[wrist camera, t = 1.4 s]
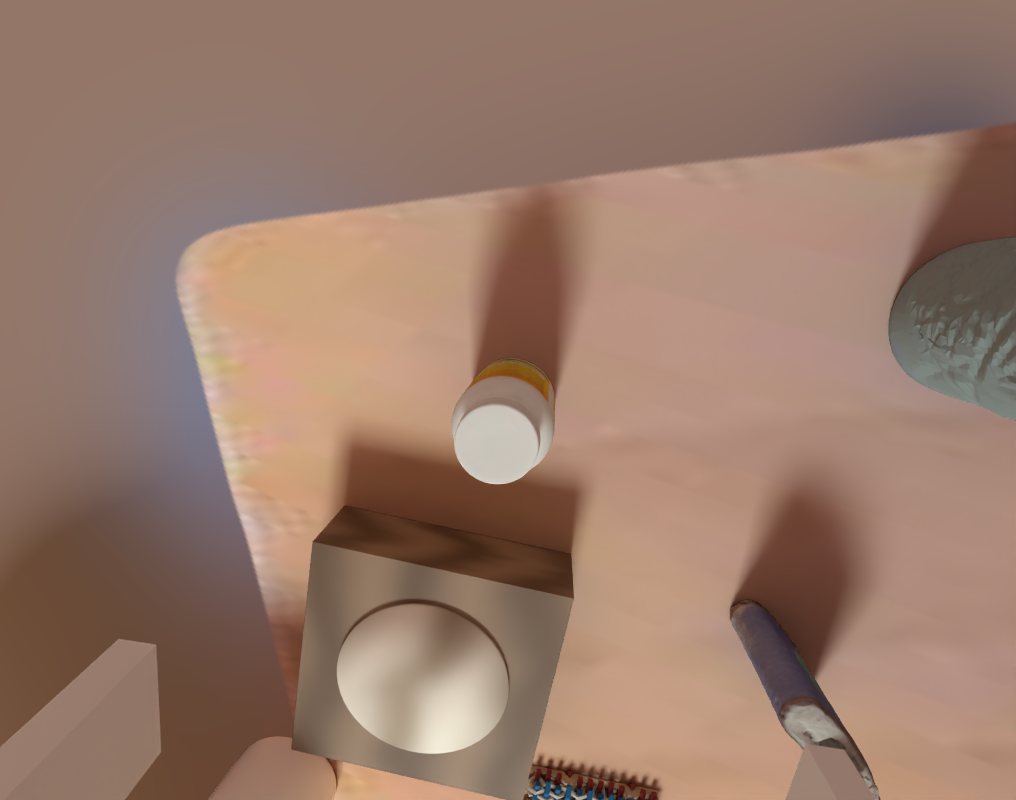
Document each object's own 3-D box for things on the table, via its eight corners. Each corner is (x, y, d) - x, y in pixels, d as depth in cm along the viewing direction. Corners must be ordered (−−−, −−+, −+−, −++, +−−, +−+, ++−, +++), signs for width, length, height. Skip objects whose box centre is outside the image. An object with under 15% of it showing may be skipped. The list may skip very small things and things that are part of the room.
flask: (721, 608, 36) (789, 745, 26) (760, 589, 36) (847, 721, 25) (782, 706, 38) (870, 874, 27) (822, 690, 37) (927, 854, 27)
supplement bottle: (565, 423, 34) (569, 482, 25) (487, 447, 35) (462, 512, 25) (539, 344, 33) (532, 374, 24) (459, 371, 34) (422, 409, 24)
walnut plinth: (571, 554, 36) (574, 601, 31) (525, 738, 40) (521, 807, 35) (344, 505, 37) (310, 544, 32) (322, 692, 41) (289, 753, 36)
